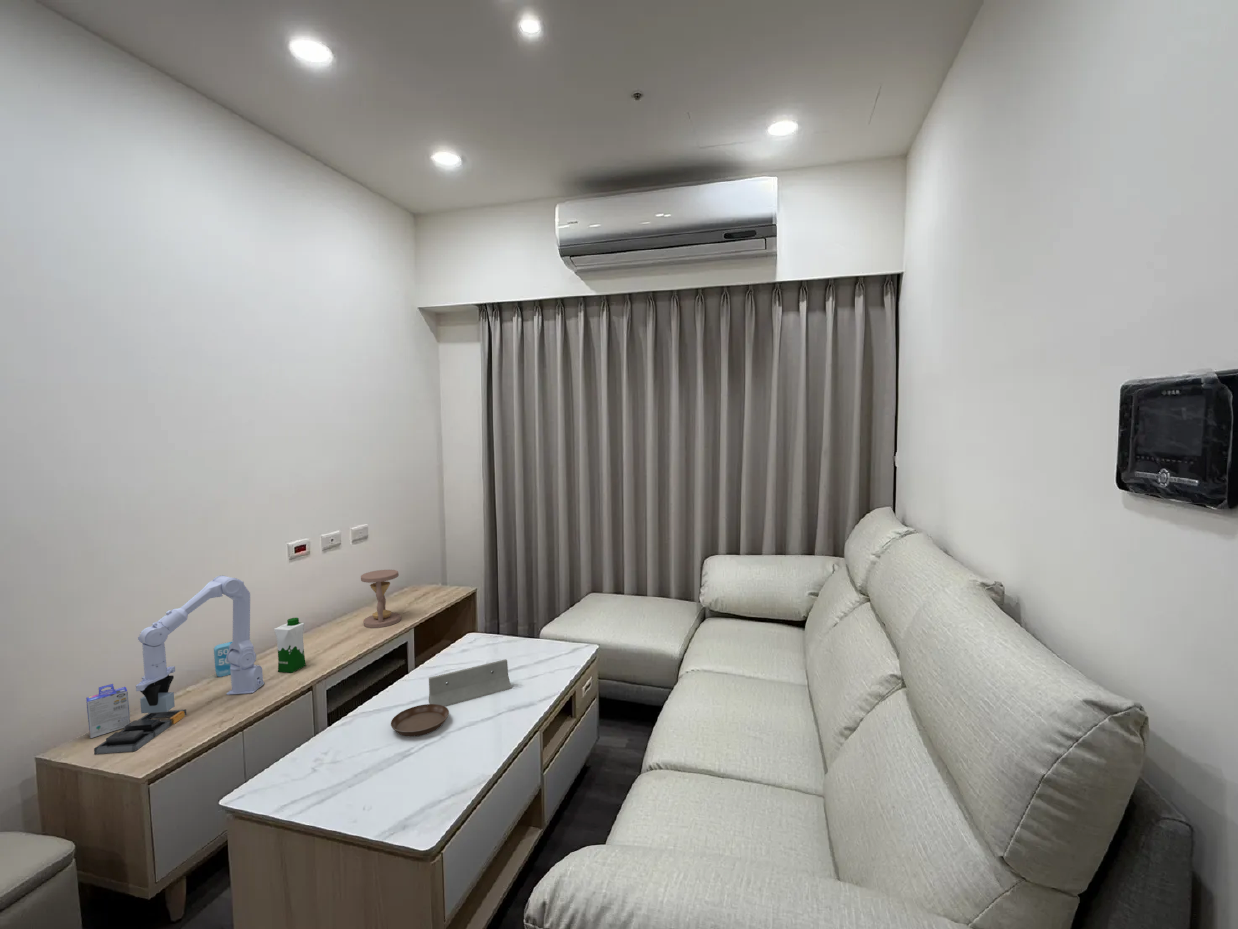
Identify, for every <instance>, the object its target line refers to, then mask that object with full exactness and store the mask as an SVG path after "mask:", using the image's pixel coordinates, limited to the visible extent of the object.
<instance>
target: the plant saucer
mask: <svg viewBox="0 0 1238 929" xmlns="http://www.w3.org/2000/svg"><path fill="white" fill-rule="evenodd" d="M449 710H450V709H449V708H448V707H447V706H442V705H438V704H429V703H428V704H426V703H425V704H420V705H416V706H412V707H409V708H406V709H404V710H401V712H398V713H397V714H396V715H395V716H393V718H392V719H391V721H390V726H391V728H392V730H394V732H396V733H397V734H398V735H400V736H402V737H408V738H412V737H413V738H414V737H415V738H416V737H421V736H425V735H428V734H431V733H432V732H435V731H436V730H439V728H441V727H442V726H443V724H444V723H445V722H446V721H447V719H448V716H449V714H450V711H449Z"/></svg>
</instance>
